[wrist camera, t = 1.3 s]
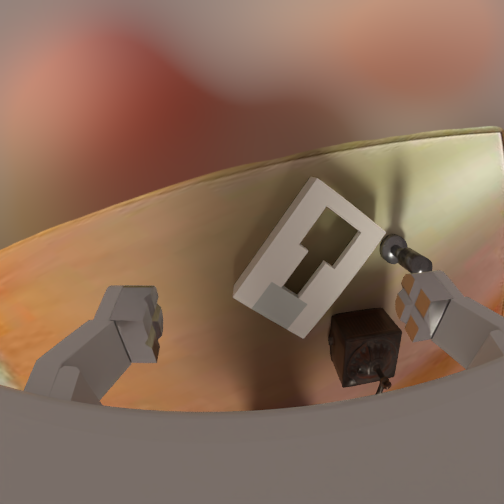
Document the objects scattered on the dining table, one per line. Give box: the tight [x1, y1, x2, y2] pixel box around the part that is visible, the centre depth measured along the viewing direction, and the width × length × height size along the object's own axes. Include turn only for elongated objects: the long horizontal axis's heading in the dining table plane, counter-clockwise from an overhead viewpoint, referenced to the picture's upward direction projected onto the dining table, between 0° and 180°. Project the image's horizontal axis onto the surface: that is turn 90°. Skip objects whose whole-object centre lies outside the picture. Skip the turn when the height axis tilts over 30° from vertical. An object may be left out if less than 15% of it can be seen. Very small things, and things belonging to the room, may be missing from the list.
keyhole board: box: [233, 177, 386, 339], centre depth 49 cm, size 14×22×5 cm, turn 146°
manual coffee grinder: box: [328, 308, 402, 395], centre depth 48 cm, size 16×11×18 cm
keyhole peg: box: [380, 234, 432, 273], centre depth 45 cm, size 5×5×12 cm
